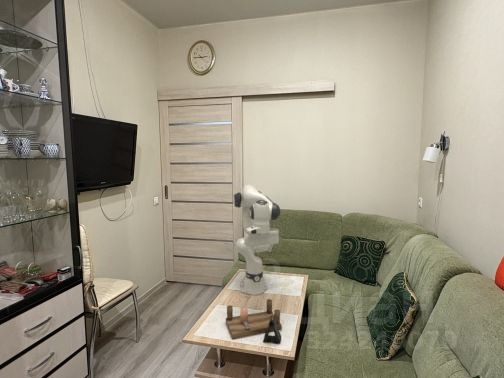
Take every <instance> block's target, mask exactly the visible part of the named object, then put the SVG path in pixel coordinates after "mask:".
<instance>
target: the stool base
mask: <svg viewBox="0 0 504 378" xmlns="http://www.w3.org/2000/svg"><path fill="white" fill-rule="evenodd" d="M233 311H234V309H233V305H230V304H229V305H227V306H226V317H225V324H226V327H227V329H228V332H229V335H230V337H231V339H232V340H236V339H242V338H246V337H247V338H249V337H252V336H258V335H262V334H265V333H266V330H267V328H268V325H269V321H270V317H271V316H272V320H273V317H274V316H275V317H276V323H277V326H278V329H279V331H282V330H283V329H282V328H283V327H282V326H283V325H282V323H281V310H280V309H279V308H277V309H274V310H273V300H272V299H266V310H265V311H259V312H254V313H248V322H247V323H248V325H249V326H250V329H249V330H246V329H245V326H244V324H243V323H241V321H240V315H235V316H233V315H234V314H233V313H234V312H233ZM269 333H274V331H273V328H270V331H269Z"/></svg>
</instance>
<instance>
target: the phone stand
mask: <svg viewBox="0 0 504 378" xmlns="http://www.w3.org/2000/svg"><path fill="white" fill-rule="evenodd" d="M270 328H273V331H274V332H273V333H274V335H269V334H270V332H269V331H270ZM280 331H281V330H279V329H278V326H277V323H276V317H275V316H274V317H273V320H272V316H271V317H270V321H269V325H268V328H267V330H266V333H264V336H263V339H262V343H268V344H275V345H281V342H282V334H281V332H280Z"/></svg>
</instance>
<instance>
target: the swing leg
mask: <svg viewBox="0 0 504 378" xmlns="http://www.w3.org/2000/svg"><path fill="white" fill-rule="evenodd" d="M248 309H249V308H248V307H246V306H242V307H240V309H239V311H240V314H239V316H240V321H241V323H243V324H244V326H245V329H246V330H249V329H250V326H249V325H248V323H247V322H248V314H249V313H248V312H249V311H248Z"/></svg>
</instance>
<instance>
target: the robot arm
mask: <svg viewBox="0 0 504 378" xmlns="http://www.w3.org/2000/svg"><path fill="white" fill-rule="evenodd" d="M232 203H233V205H234V207H235V208H239V209H240V208H241V219H242V227H243V230H244V232H245V235H244V237H241V238H238V239H237V240H236V243H235V248H236V251H237V252H238V253H239V254H241V255H242V256H243V258H244V260H245V262H246V263H245V264H246V266H245V267H246V271H245V275H243V277H242V279H241V282H240V291H241V293H242V294H247V295H251V296H253V295H254V296H256V295H261V294H263V293H264V292H265V291H267V289H268V286H266V278H265V277H264V270H263V260H262V258H260V257H259V256H256V255H255V254H257V253H263V252H269V253H270V252H272V249H273V247H274V245H277V244H279V243H280V236H279V233H280V230H279V228H278V227H270V220H271V221H277V220H278V219H279V217H280V216H281V207H280V206H279V205H278V203H276V202H274V201H273V200H272V199H271V198H269V197H268V196H267V195H265V194H264V193H262V191H260V190H257V188H256V187H255V186H254V185H252V184H245V186H243V188H242V190H241V191H238V192H236V193H235V194H234V195H233V196H232Z"/></svg>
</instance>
